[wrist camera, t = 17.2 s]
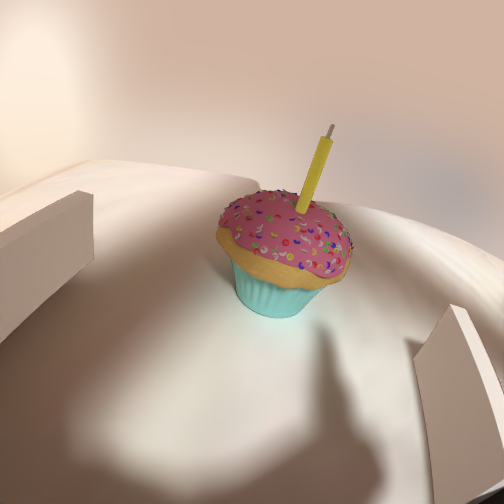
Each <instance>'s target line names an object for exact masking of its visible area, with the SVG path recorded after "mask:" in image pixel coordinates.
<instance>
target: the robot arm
mask: <svg viewBox="0 0 504 504" xmlns="http://www.w3.org/2000/svg"><path fill="white" fill-rule="evenodd" d="M93 259H94V246H93V194H89V193H86V192H82V191H79V190H78V191H76V192H74V193H72V194H70V195H68V196H66V197H64V198H62V199H60V200H58V201H56V202H54V203H52V204H50V205H48V206H47V207H45V208H43V209H41V210H39V211H37V212H35V213H34V214H32V215H30V216H28V217H26V218H25V219H23V220H21V221H19V222H18V223H16V224H14V225H13V226H11V227H9V228H7V229H6V230H4V231H2V232H1V233H0V343H1V342H2V341H3V340H4V339H5V338H6V337H7V336H8V335H9V334H10V333H11V332H12V331H14V330H15V329H16V328H17V327H18V326H19V325H20V324H21V323H22V322H23V321H24V320H25V319H26V318H27V317H28V316H29V315H30V314H31V313H33V312H34V311H35V310H36V309H37V308H38V307H39V306H40V305H41V304H42V303H43V302H45V301H46V300H47V299H48V298H49V297H50V296H51V295H52V294H54V293H55V292H56V291H57V290H58V289H59V288H60V287H62V286H63V285H64V284H65V283H66V282H67V281H68V280H70V279H71V278H72V277H73V276H74V275H75V274H77V273H78V272H79V271H80V270H81V269H83V268H84V267H85V266H86V265H87V264H89V263H90V262H91V261H92V260H93ZM413 361H414V366H415V370H416V375H417V379H418V384H419V389H420V394H421V400H422V405H423V411H424V417H425V423H426V429H427V436H428V443H429V451H430V459H431V468H432V478H433V490H434V504H504V394H503V391H502V389H501V386H500V384H499V381H498V379H497V376H496V374H495V371H494V369H493V366H492V364H491V362H490V359H489V357H488V355H487V353H486V350H485V348H484V346H483V344H482V342H481V339H480V337H479V335H478V333H477V331H476V329H475V327H474V325H473V323H472V321H471V319H470V317H469V315H468V313H467V311H466V309H464V308H461V307H458V306H455V305H452V304H450V305H449V306H448V308H447V310H446V311H445V313H444V314H443V316H442V318H441V319H440V321H439V322H438V324H437V325H436V327H435V328H434V330H433V331H432V333H431V334H430V336H429V337H428V339H427V340H426V342H425V343H424V345H423V346H422V347H421V349H420V350H419V352H418V353H417V355H416V356H415V357H414V359H413Z"/></svg>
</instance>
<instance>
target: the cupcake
mask: <svg viewBox="0 0 504 504" xmlns="http://www.w3.org/2000/svg"><path fill="white" fill-rule="evenodd" d="M333 129H334V125H333V124H332V125H331V126H330V128H329V130H328V133H327V135H326V137H324V136H322V137H321V138H320V141H319V144H318V146H317V150H316V152H315V155H314V158H313V161H312V163H311V166H310V169H309V172H308V175H307V177H306V180H305V183H304V186H303V188H302V191H301V194H300V196H298V195H297V193H290V192H287V191H285V190H284V191H280V190H277V191H266V190H262V192H260V191H258V192H257V193H255V194H251V195H246V196H245V197H244V198H239V199H237V200H235V201H233V202H231V203H232V204H231V203H230V204H231V205H230V204H229V205H230V206H229V207H226V208H224V210H225V212H224V213H223V215H221V216H220V217H221V218H220V220H219V227H218V230H217V233H216V239H217V242H218V243H219V244H220V245H221V246H222V247H223V249H224V250H225V251H226V253H227V254H228V255H229V256H230V257H231V260H232V264H233V269H234V274H235V281H236V292H237V295H238V297H239V299H240V300H241V301H242V302H243V303H244V304H245V305H246V306H247V307H248V308H250V309H251V310H253V311H254V312H256V313H259V314H261V315H264V316H268V317H273V318H287V317H291V316H294V315H296V314H298V313H299V312H300V311H301V310H302V309H303V308H304V307H305V305H306V304H307V303H308V302H309V301H310V300H311V299H312V298H313V297H314V296H315V295H316V294H317V293H318V292H319V291H321V290H322V289H323V288H324V287H326V286H327V285H329V284H333V283H336V282H339V281H340V280H341V279H342V278H343V277H344V275H345V273H346V271H347V269H348V266H349V263H350V257H351V255H352V249H353V248H354V247H352V242H351V241H352V240H351V237H350V238H349V236H350V235H349V234H348V232H347V230H346V228H344V227H343V225H342V224H341V222H340V221H339V220H338V219H337V218H336V217H335V214H334V213H330V212H329V211H328V210H326V209H325V208H324V207H321V206H318V205H317V204H315V202H314V201H311V199H312V196H313V194H314V191H315V188H316V185H317V183H318V180H319V178H320V175H321V173H322V170H323V167H324V164H325V161H326V159H327V156H328V154H329V151H330V148H331V145H332V143H333V141H332V140H331V139H330V136H331V134H332V131H333Z"/></svg>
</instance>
